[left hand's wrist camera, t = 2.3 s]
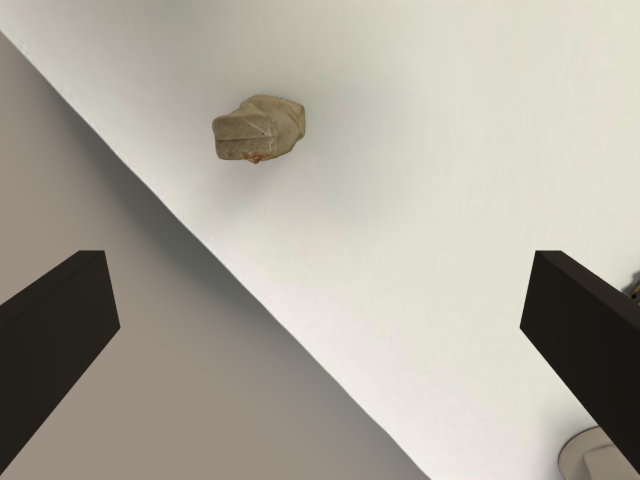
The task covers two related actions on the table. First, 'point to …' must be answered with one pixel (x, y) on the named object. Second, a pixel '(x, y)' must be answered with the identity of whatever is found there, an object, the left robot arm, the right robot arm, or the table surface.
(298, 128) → the sculpture
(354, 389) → the table surface
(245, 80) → the table surface
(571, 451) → the bust sculpture
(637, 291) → the spray gun
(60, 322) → the left robot arm
